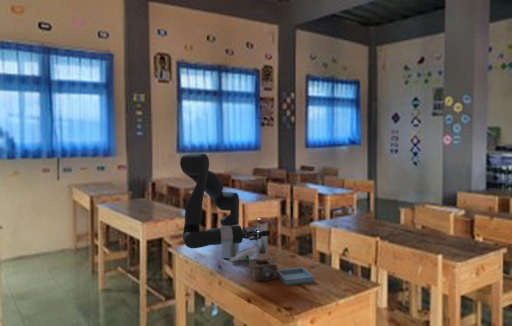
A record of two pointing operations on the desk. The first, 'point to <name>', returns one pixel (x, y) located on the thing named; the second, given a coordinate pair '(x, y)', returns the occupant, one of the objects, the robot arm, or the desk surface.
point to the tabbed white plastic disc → (244, 254)
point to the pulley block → (263, 269)
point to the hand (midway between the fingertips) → (268, 231)
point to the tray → (295, 276)
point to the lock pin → (263, 241)
